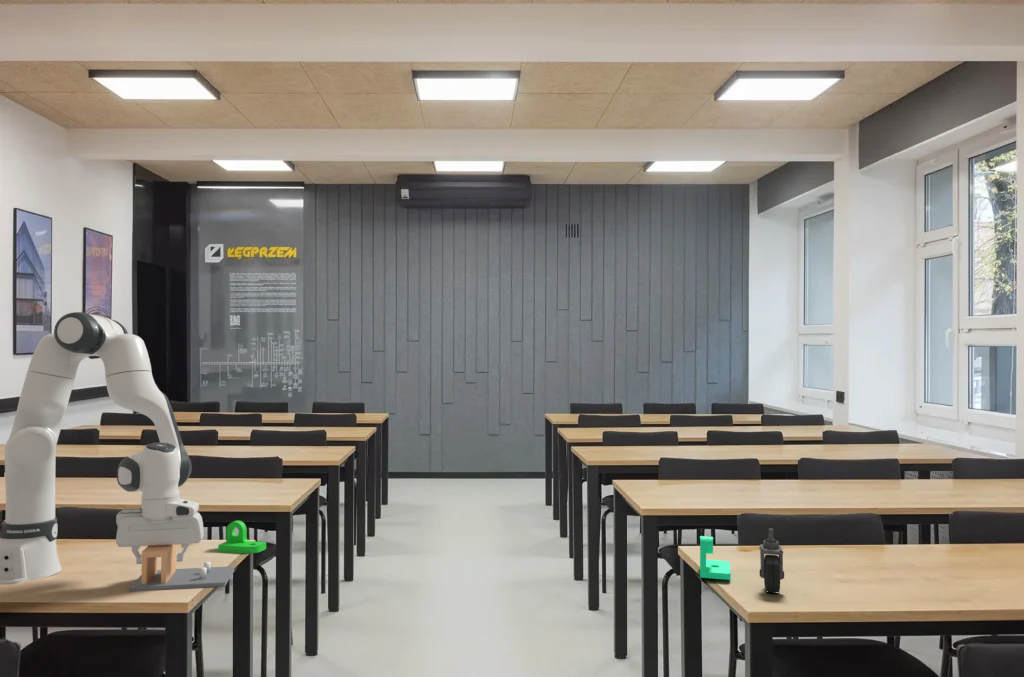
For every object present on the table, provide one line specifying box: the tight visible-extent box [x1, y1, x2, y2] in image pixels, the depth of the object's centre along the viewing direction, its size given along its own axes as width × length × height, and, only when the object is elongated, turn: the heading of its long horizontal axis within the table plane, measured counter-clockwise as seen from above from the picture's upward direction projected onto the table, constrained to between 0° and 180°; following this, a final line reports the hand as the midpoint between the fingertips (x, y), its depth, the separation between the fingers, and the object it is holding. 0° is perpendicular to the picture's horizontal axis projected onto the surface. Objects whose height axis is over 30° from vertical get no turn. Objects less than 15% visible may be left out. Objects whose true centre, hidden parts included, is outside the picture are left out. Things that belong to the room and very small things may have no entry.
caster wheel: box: [759, 528, 785, 593], centre depth 185 cm, size 6×10×15 cm, turn 165°
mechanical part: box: [217, 519, 267, 555], centre depth 222 cm, size 12×6×8 cm, turn 78°
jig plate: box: [128, 561, 235, 592], centre depth 191 cm, size 22×14×4 cm, turn 101°
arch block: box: [141, 544, 177, 584], centre depth 190 cm, size 6×10×8 cm, turn 11°
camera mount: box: [699, 535, 732, 580], centre depth 199 cm, size 12×8×10 cm, turn 165°
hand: (160, 562), depth 190 cm, fingers open, 8 cm apart
